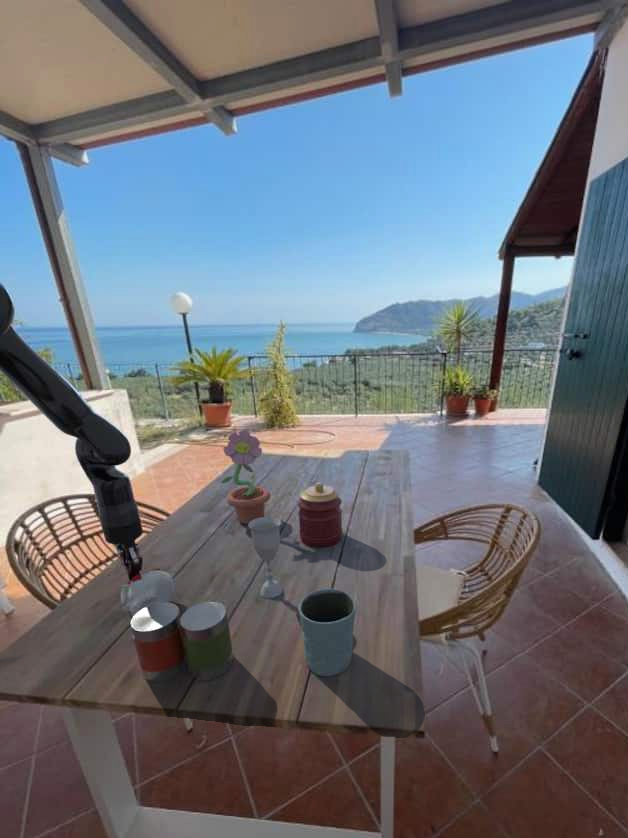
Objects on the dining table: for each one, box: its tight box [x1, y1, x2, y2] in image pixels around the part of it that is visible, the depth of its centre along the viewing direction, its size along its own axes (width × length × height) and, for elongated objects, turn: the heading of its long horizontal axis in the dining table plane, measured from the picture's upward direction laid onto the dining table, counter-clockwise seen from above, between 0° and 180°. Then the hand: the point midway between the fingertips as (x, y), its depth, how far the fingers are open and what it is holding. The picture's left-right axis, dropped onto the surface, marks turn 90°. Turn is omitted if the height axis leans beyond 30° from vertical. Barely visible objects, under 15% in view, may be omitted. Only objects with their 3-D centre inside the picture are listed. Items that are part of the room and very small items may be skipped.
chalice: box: [247, 516, 283, 599], centre depth 90 cm, size 7×7×18 cm
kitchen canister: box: [297, 482, 343, 548], centre depth 115 cm, size 13×13×18 cm
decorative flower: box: [220, 430, 271, 525], centre depth 125 cm, size 15×14×30 cm
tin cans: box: [130, 601, 234, 683], centre depth 70 cm, size 16×8×11 cm, turn 91°
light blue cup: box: [298, 588, 357, 677], centre depth 71 cm, size 10×10×12 cm
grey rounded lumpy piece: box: [120, 568, 176, 618], centre depth 86 cm, size 9×11×15 cm
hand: (136, 583), depth 93 cm, fingers closed
